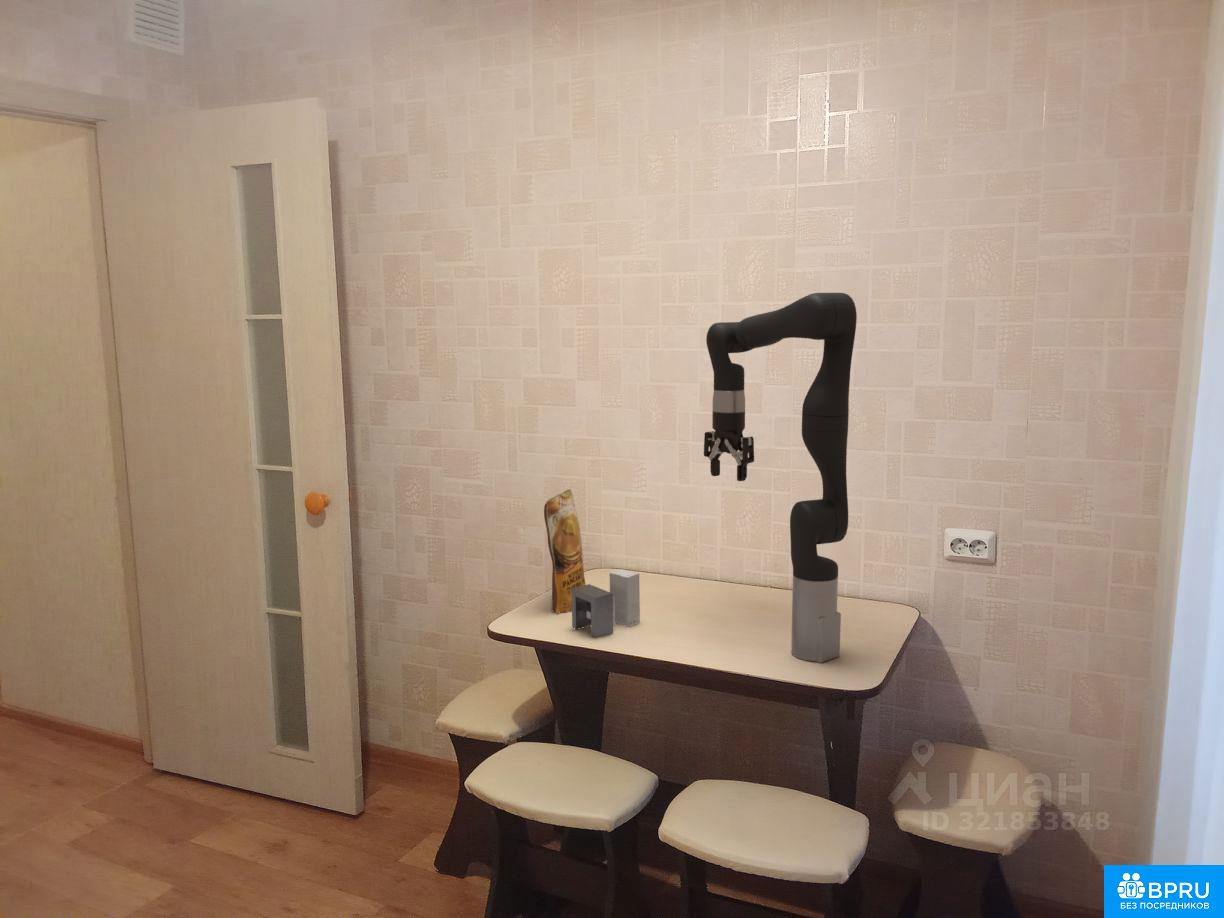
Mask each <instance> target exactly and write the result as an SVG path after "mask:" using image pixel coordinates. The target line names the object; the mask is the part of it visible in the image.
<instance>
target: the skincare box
mask: <svg viewBox="0 0 1224 918" xmlns="http://www.w3.org/2000/svg"><path fill="white" fill-rule="evenodd" d="M609 592H610V593H613V596H614V597H615V622H616V623H615V624H619V625H621V626H624V625H625V627H627V628H628V627H632V626H634V625H636V623H637V624H639V623H641V609H640V605H641V603H640V602H641V601H640V600H641V599H640V596H641V595H640V573H639V572H635V571H630V570H627V569H626V570H625V569H622V568H621V569H617V570H613V571H611V572H609ZM631 625H632V626H631Z"/></svg>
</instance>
